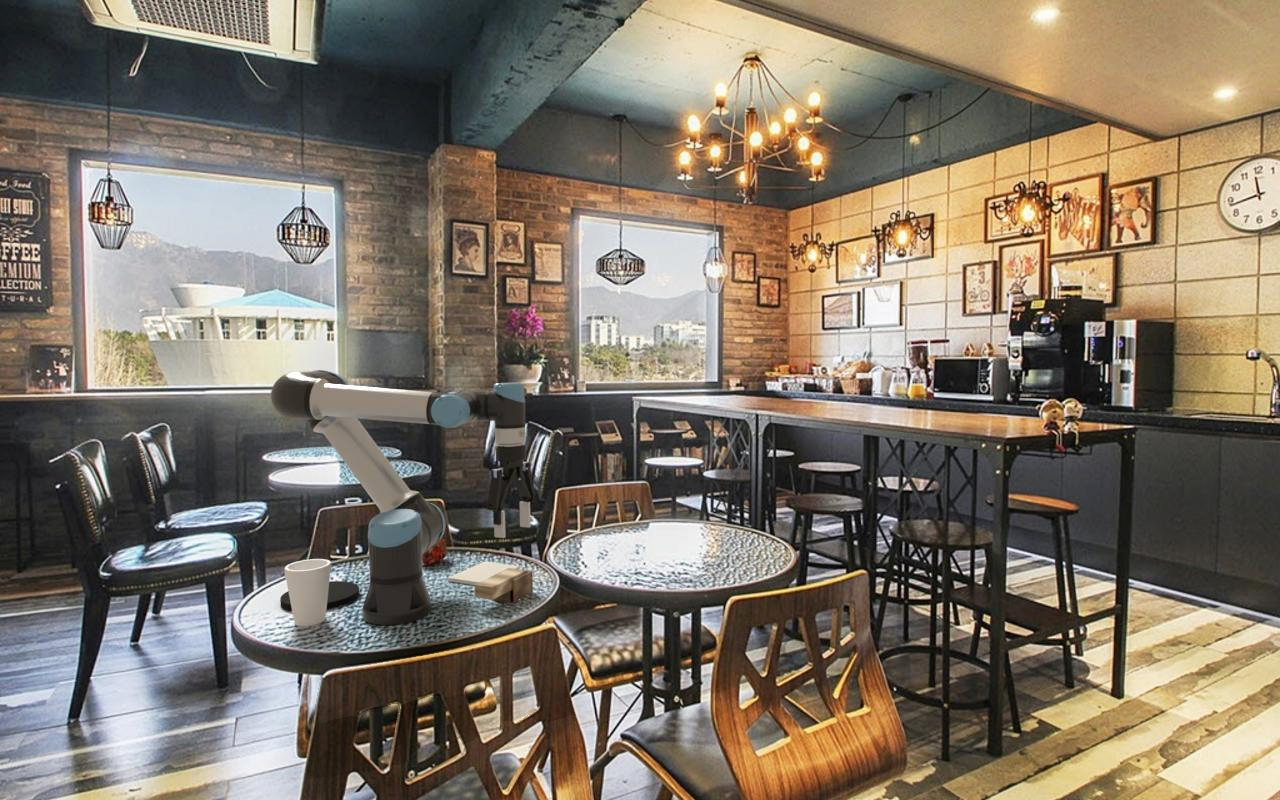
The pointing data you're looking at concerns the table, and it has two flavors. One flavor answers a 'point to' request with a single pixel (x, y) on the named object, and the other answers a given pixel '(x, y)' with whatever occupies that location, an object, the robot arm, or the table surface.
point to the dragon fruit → (435, 553)
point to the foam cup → (308, 590)
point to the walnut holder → (518, 588)
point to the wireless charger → (331, 595)
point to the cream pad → (480, 573)
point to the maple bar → (497, 584)
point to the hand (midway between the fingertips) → (513, 531)
